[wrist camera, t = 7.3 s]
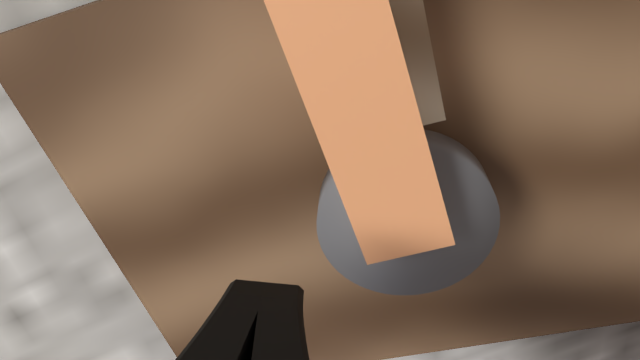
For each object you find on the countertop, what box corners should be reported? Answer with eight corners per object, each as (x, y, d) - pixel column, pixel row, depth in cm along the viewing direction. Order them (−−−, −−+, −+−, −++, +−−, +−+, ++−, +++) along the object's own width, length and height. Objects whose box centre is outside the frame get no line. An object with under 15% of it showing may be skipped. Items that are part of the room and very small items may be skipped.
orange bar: (503, 249, 16) (525, 304, 14) (348, 284, 17) (347, 338, 15) (414, -163, 11) (428, -174, 9) (197, -72, 12) (163, -63, 10)
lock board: (730, 281, 19) (767, 321, 17) (203, 364, 23) (191, 403, 22) (807, -294, 11) (891, -327, 9) (-20, 1, 15) (-68, 16, 14)
